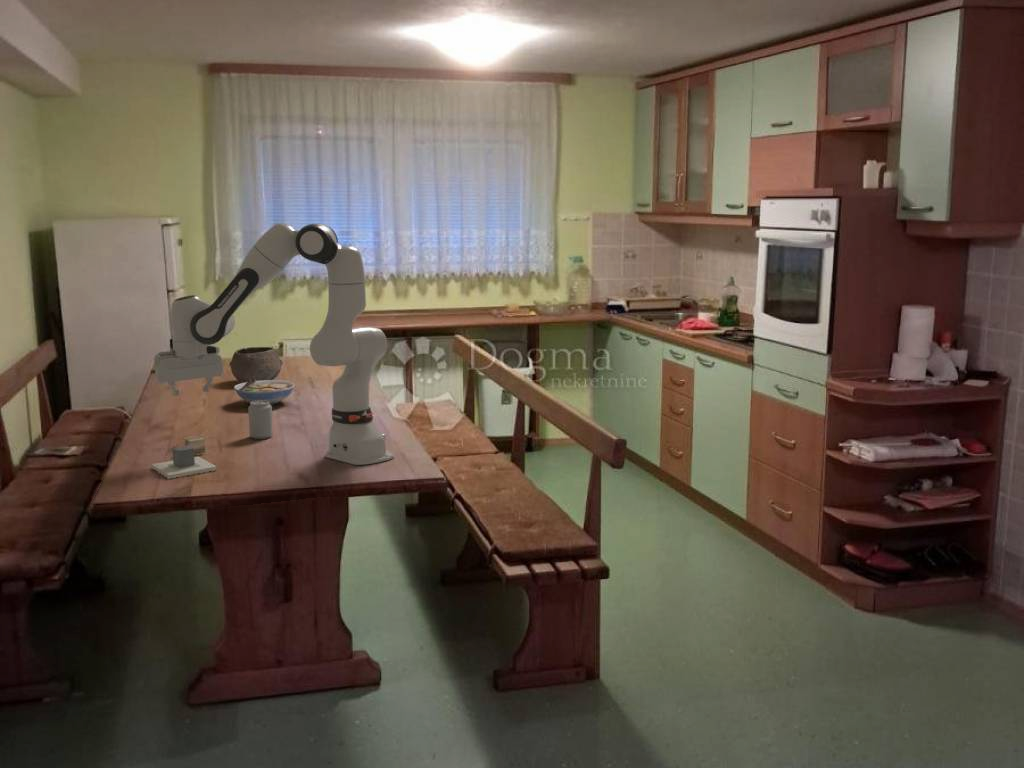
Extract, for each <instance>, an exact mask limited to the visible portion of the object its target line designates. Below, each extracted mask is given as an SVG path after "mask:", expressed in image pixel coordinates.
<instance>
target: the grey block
mask: <svg viewBox="0 0 1024 768" xmlns="http://www.w3.org/2000/svg"><path fill="white" fill-rule="evenodd" d="M171 449H172V461H173V464H174V465H175V466H177V467H179V468H181V467H186V466H192V465H195V460H194V457H195V456H194V448H192V447H190V446H188V445H187V446H185V445H181V446H176V447H172V448H171Z"/></svg>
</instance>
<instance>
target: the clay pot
mask: <svg viewBox="0 0 1024 768" xmlns="http://www.w3.org/2000/svg"><path fill="white" fill-rule="evenodd" d="M231 358H232V359H231V361H230V362H229V367H230V370H231V373H232V375H233V377H234V378H235V379H236V380H237V381H239V382H240V383H245V382H248V381H249V380H250V379H251V378H252V377H254V379H255V378H256V377H258V379H257V380H256V381H262V380H275V379H276V378H277V377H278V376H279V374H280V372H281V369H282V365H283V363H284V362H283V360H282V359H280V356H279V354H278V352H277V350H276V349H274V348H273V347H270V346H256V347H255V346H254V347H253V346H252V347H243V348H240V349H237V350H235V352H234V353H233V355H232V357H231ZM254 379H253V380H254ZM253 380H252V381H253Z"/></svg>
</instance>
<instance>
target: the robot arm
mask: <svg viewBox="0 0 1024 768" xmlns="http://www.w3.org/2000/svg"><path fill="white" fill-rule="evenodd" d="M296 256H301V257H302V258H304V259H306V260H307V261H311V262H314V263H318V264H321V265H325V267H326V270H327V271H326V272H327V285H328V290H327V291H328V309H327V313H326V316H325V320H324V322H323V324H322V327H321V328H320V329H319V331H318V332H317V333H316V334H315V335H314V336H313V337H312V339H311V341H310V344H309V352H310V356H311V359H312V360H313V361H314V362H315V363H316V364H317V365H318V366H323V367H333V368H334V367H340V366H341V367H342V366H345V367H344V370H343V372H342V373H341V374H340V375H339V377H337V378H336V379H335V380H334V381H333V384H332V409H331V420H332V425H331V427H329V431H328V445H327V446H328V447H327V450H328V451H326V452H324V457H325V458H328V459H331V460H332V459H333V460H336V461H339V462H343V463H347V464H349V465H353V466H354V465H355V466H360V465H369V464H370V465H371V464H376V463H377V464H378V463H381V462H385V461H390V460H392V459H394V458H395V456H394V453H392V452H391V451H389V450H388V449H387V448H386V447H387V446H386V434H385V433H381V431H380V430H379V428H378V427H377V425H376V424H375V422H374V421H373V420H374V418H373V417H374V416H373V415H374V412H373V411H372V409H371V407H370V384H371V383H370V382H371V379H372V375H373V372H374V370H375V368H376V366H377V364H378V362H380V360H381V358H383V357H384V356H385V354H386V353H387V349H388V340H387V339H388V338H387V336H386V335H385V333H384V331H383V330H382V329H380V328H379V327H371V326H359V327H353V326H354V323H355V321H356V319H357V318H358V316H360V315H361V314H362V313H364V311H365V309H366V307H367V301H366V299H367V297H366V277H365V268H364V263H363V262H364V261H363V259H362V254H361V252H360V250H358V249H357V248H355V247H353V246H350V245H341V244H340V243H339V240H338V236H337V234H336V232H335V231H334V229H332V227H330V226H329V225H326V224H322V223H318V222H317V223H316V222H315V223H310V224H307V225H304V226H303V227H301V229H299V230H297V229H296V228H294V227H292V226H291V225H290V224H288V223H284V222H278V223H275V224H274V225H272V226H271V227H270V228H269V229H268V230H266V232H264V233H263V234H262V235H261V237H260V238H259V239H257V241H256V242H255V243H254V245H253V246H252V247H251V249H250V250H249V251H248V252H247V254H246V256H245V258H244V259H243V261H242V262H241V264H240V266H239V268H238V269H237V272H236V273H235V275H234V277H233V279H232V280H231V281H230V282H229V284H228V285H226V287H225V288H224V289H223V291H222V292H221V293H220V294H219V296H218V297H217V298H216V299H215V301H213V303H209V302H207V301H206V300H203V299H202V298H200V297H199V296H198V295H195V294H193V295H186V296H182V297H178V298H176V299H174V300H173V301H172V303H171V309H170V323H171V329H172V333H173V335H172V338H171V339H172V340H173V341H172V342H173V351H170V350H168V351H160V352H158V353H157V354H155V356H154V358H153V360H154V361H153V362H154V366H155V368H154V371H155V372H154V378H155V380H156V381H157V382H158V383H160V384H166V383H167V385H168V387H169V388H170V389H171V393H172V396H173V397H179V396H180V390H179V389H177V388H175V385H176V382H182V381H183V382H184V381H191V380H192V381H193V380H198V379H199V380H201V379H205V381H206V382H205V385H202V392H203V393H209V392H210V387H211V384H212V383H213V378H216V377H222V376H223V374H224V371H225V370H224V362H223V359H222V356H221V355H220V354H219V353H220V347H219V346H217V345H215V344H217V343H219V342H220V341H221V340H222V339H223V338H225V337H226V336H227V335H229V334H230V333H231V332H232V331H233V330H234V327H235V317H234V314H235V312H237V310H238V309H239V308H240V307H241V305H243V303H244V301H246V299H247V298H249V296H251V295H252V294H254V293H255V292H256V291H259V290H261V289H262V288H263V287H266V286H267V285H269V284H270V283H272V282H273V281H274V280H275V279H276V278H277V277H279V275H280V274H281V273H282V272H283V271H284V269H285V268H286V267H287V265H288V264H289V263H290V262H291V261H292V260H293V259H294V258H296Z"/></svg>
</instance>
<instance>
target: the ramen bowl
mask: <svg viewBox="0 0 1024 768" xmlns="http://www.w3.org/2000/svg"><path fill="white" fill-rule="evenodd" d="M253 379H254V377H252V378H251V379H250V380H249V381H248V382H245V383H242V382H240V383H238V384H235V385H234V387H233V389H234V391H235V392H236V394H237V395H238V396H239V397H240V399H242V400H244V401H245V402H248V403H249V404H250V402H253V401H261V400H263V401H269V404H270V405H271V406H275V405H276V404H278V403H280V402H281V401H284V400H285V399H287V398H288V397H289V396H290V395H291V394H292V391H293V390H294V387H295V383H294V382H292V381H287V380H279V379H278V380H277V379H276V380H275V379H273V380H262V381H256V380H257V379H258V377H256V378H255V379H254V380H253ZM252 380H253V381H252Z"/></svg>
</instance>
